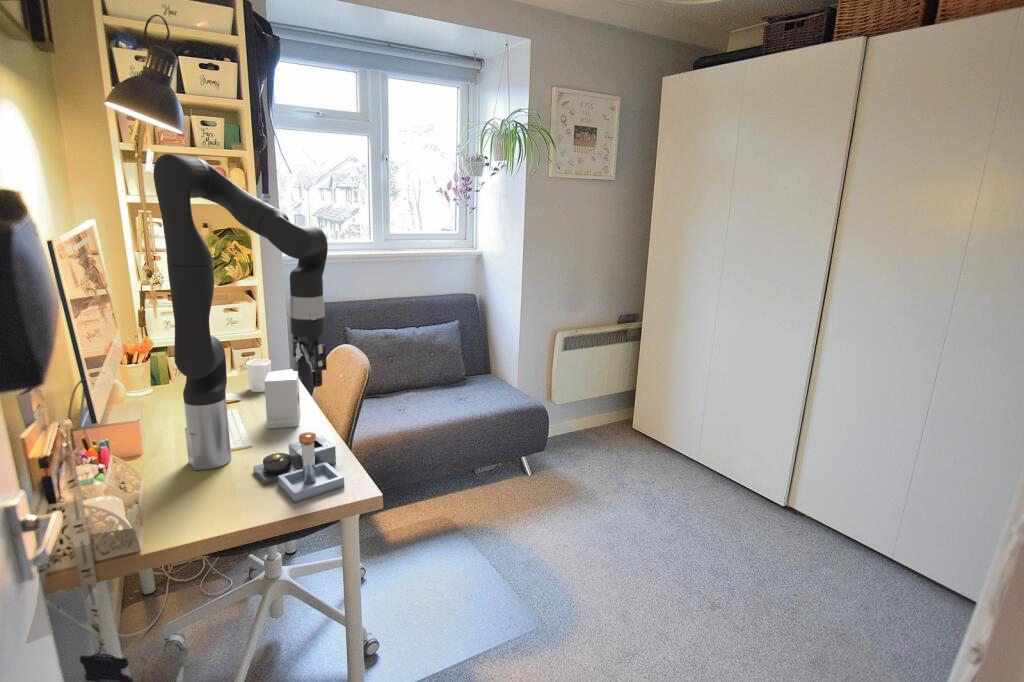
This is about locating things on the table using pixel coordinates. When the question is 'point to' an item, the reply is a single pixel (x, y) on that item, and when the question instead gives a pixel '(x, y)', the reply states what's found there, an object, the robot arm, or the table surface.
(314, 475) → the pin
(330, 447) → the block
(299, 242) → the robot arm
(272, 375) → the supplement box
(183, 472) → the table surface
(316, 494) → the parts tray
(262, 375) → the white cup
